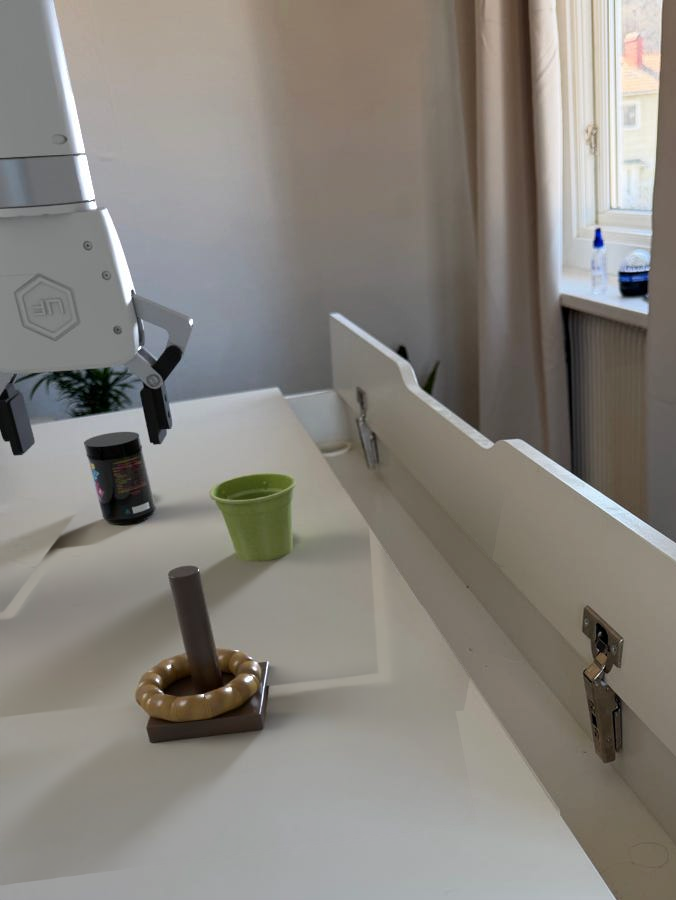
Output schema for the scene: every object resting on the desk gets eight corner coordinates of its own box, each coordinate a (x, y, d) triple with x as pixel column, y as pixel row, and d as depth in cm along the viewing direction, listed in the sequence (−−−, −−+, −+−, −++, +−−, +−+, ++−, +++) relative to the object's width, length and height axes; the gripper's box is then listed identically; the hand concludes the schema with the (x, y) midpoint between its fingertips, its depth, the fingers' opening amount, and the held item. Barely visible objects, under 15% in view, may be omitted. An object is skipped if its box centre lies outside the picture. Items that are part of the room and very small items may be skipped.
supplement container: (133, 505, 132) (115, 429, 127) (168, 512, 129) (150, 434, 124) (92, 522, 127) (72, 443, 122) (127, 529, 124) (107, 448, 119)
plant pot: (240, 582, 106) (225, 506, 102) (213, 557, 113) (198, 485, 109) (320, 560, 110) (308, 486, 106) (288, 537, 117) (276, 467, 113)
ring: (128, 732, 77) (122, 711, 76) (151, 672, 85) (146, 651, 84) (257, 717, 77) (253, 695, 76) (266, 659, 86) (262, 638, 85)
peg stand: (149, 743, 78) (112, 601, 72) (167, 687, 86) (135, 556, 80) (263, 729, 79) (235, 588, 73) (271, 675, 86) (246, 544, 81)
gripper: (-132, 200, 60) (-48, 470, 68) (157, 184, 61) (205, 450, 69) (-84, 193, 66) (-13, 440, 74) (175, 179, 68) (217, 422, 76)
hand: (92, 444), depth 72 cm, fingers open, 9 cm apart
